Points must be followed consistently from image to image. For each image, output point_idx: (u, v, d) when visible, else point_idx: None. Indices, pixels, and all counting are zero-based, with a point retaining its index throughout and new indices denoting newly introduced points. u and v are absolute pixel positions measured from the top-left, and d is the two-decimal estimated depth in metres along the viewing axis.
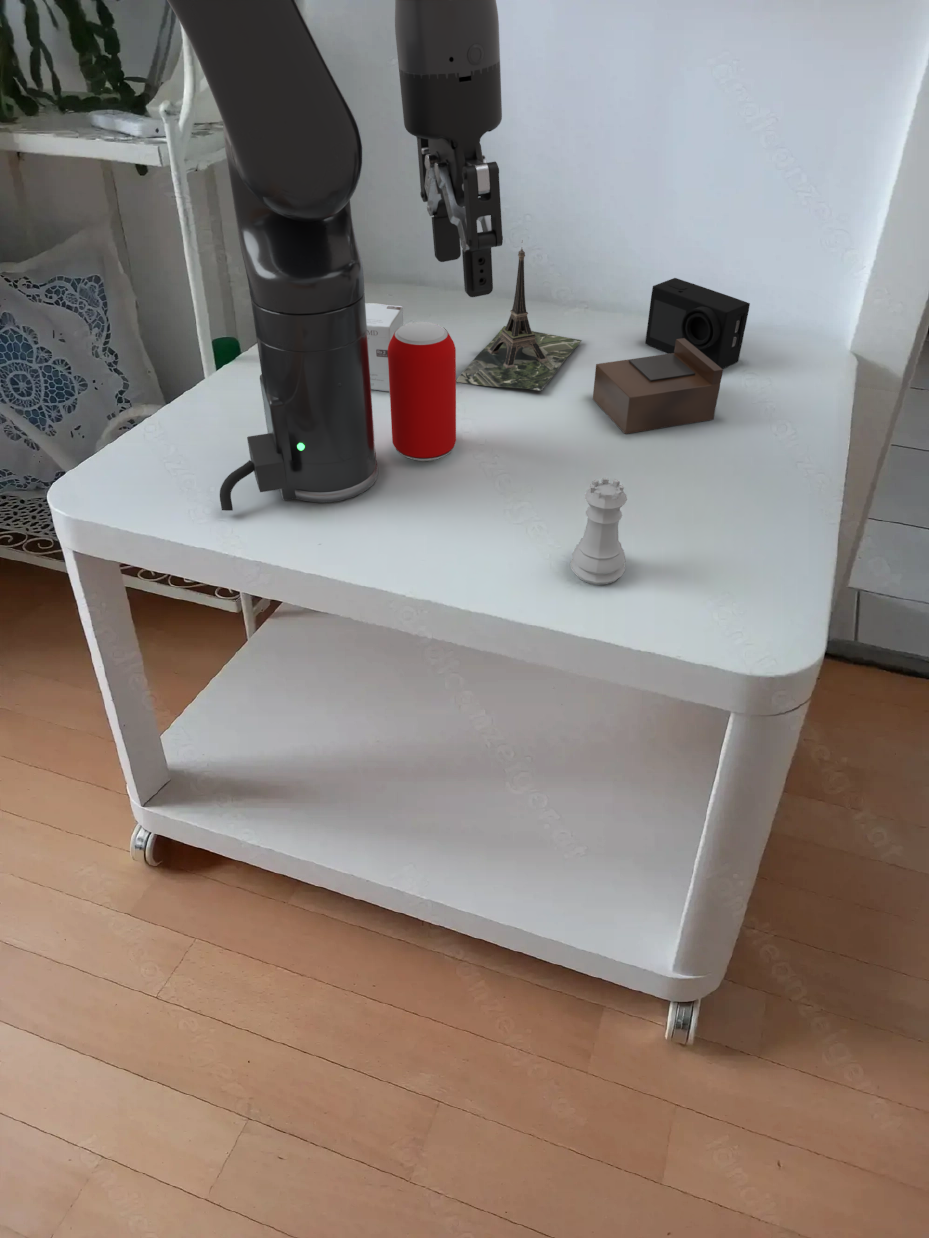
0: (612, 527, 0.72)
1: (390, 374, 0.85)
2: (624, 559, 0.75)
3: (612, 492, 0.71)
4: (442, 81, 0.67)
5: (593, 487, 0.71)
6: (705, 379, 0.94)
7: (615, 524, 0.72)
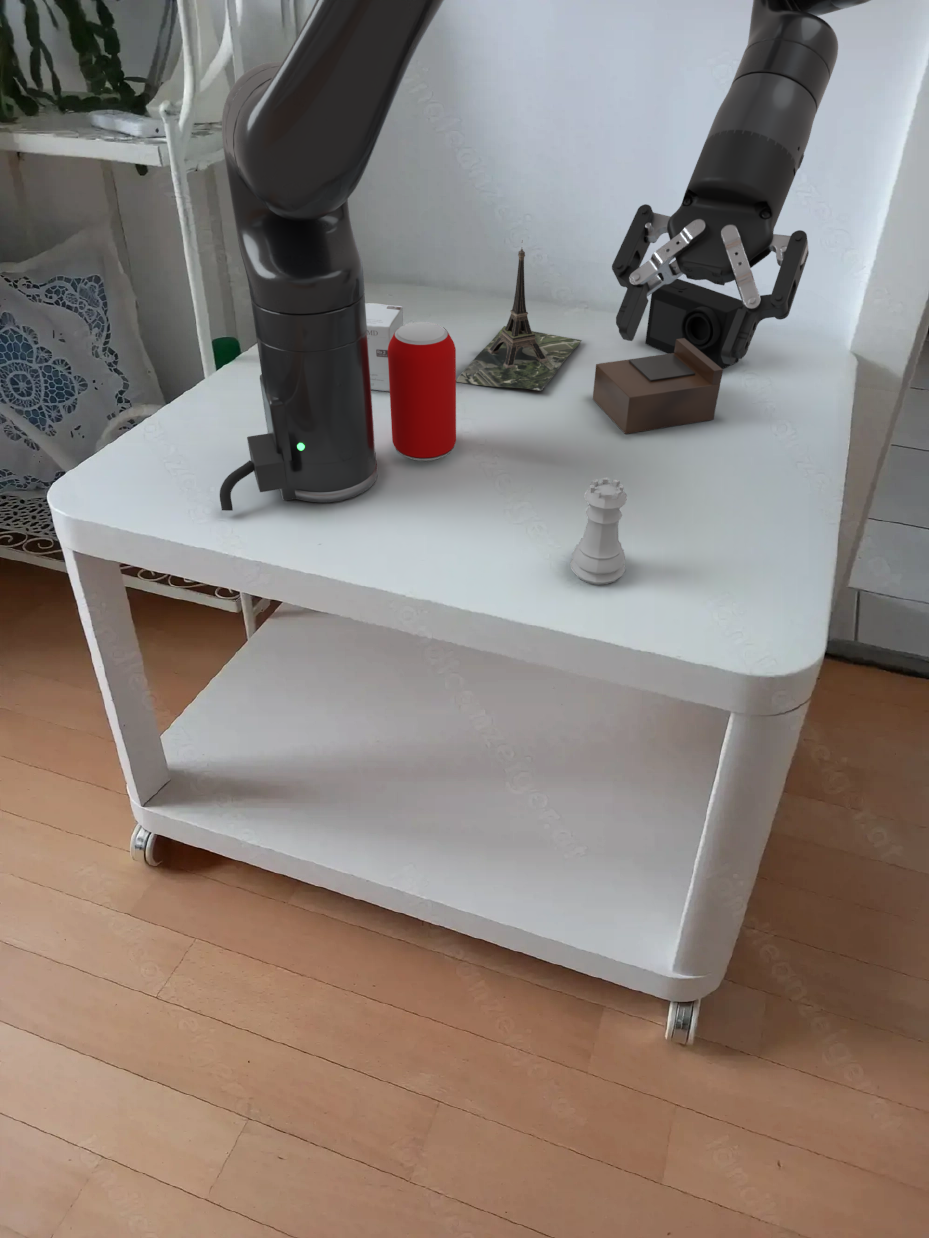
0: (612, 527, 0.72)
1: (390, 374, 0.85)
2: (624, 559, 0.75)
3: (612, 492, 0.71)
4: (788, 159, 0.71)
5: (593, 487, 0.71)
6: (705, 379, 0.94)
7: (615, 524, 0.72)
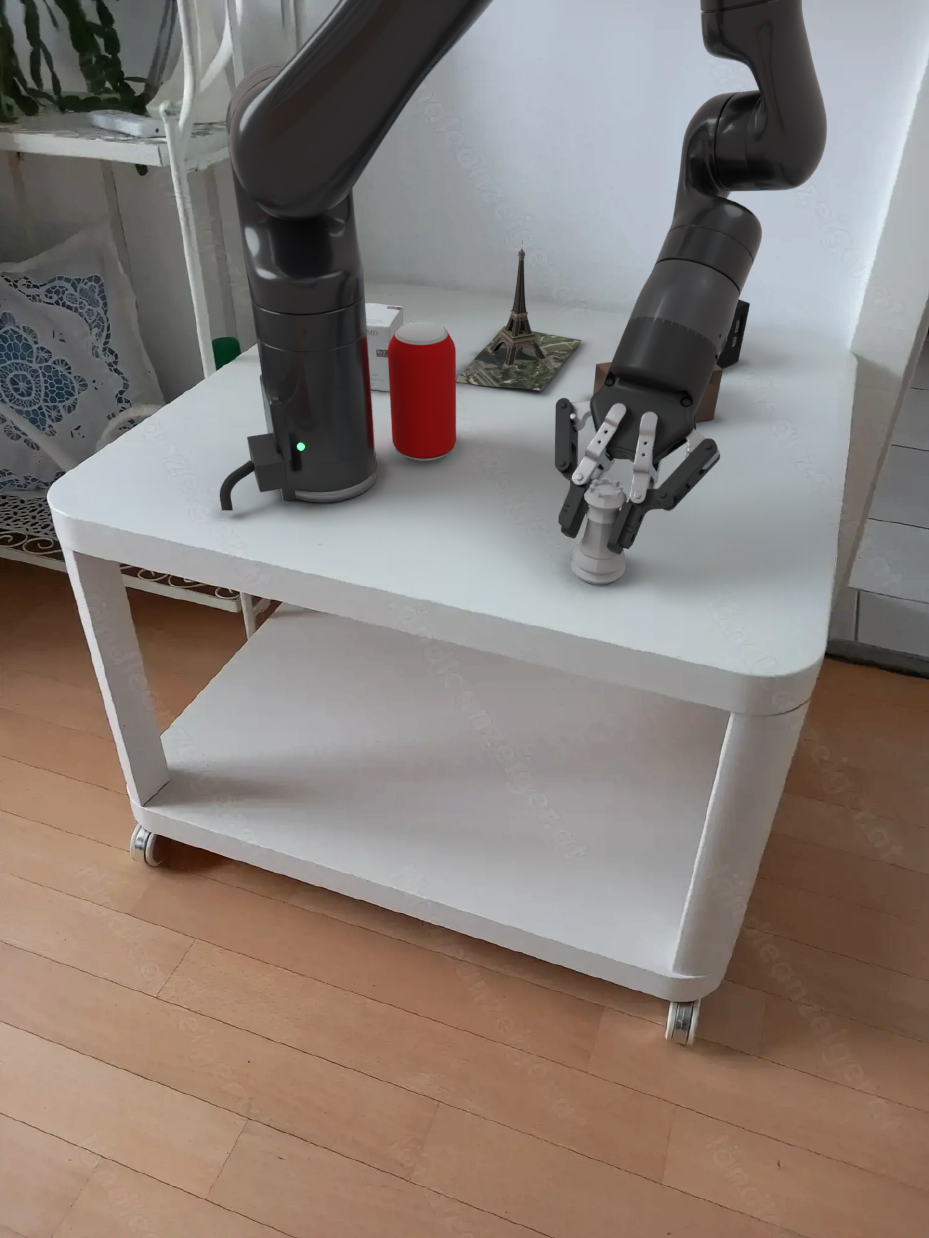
0: (612, 527, 0.72)
1: (390, 374, 0.85)
2: (624, 559, 0.75)
3: (612, 492, 0.71)
4: (709, 347, 0.70)
5: (593, 487, 0.71)
6: None
7: None
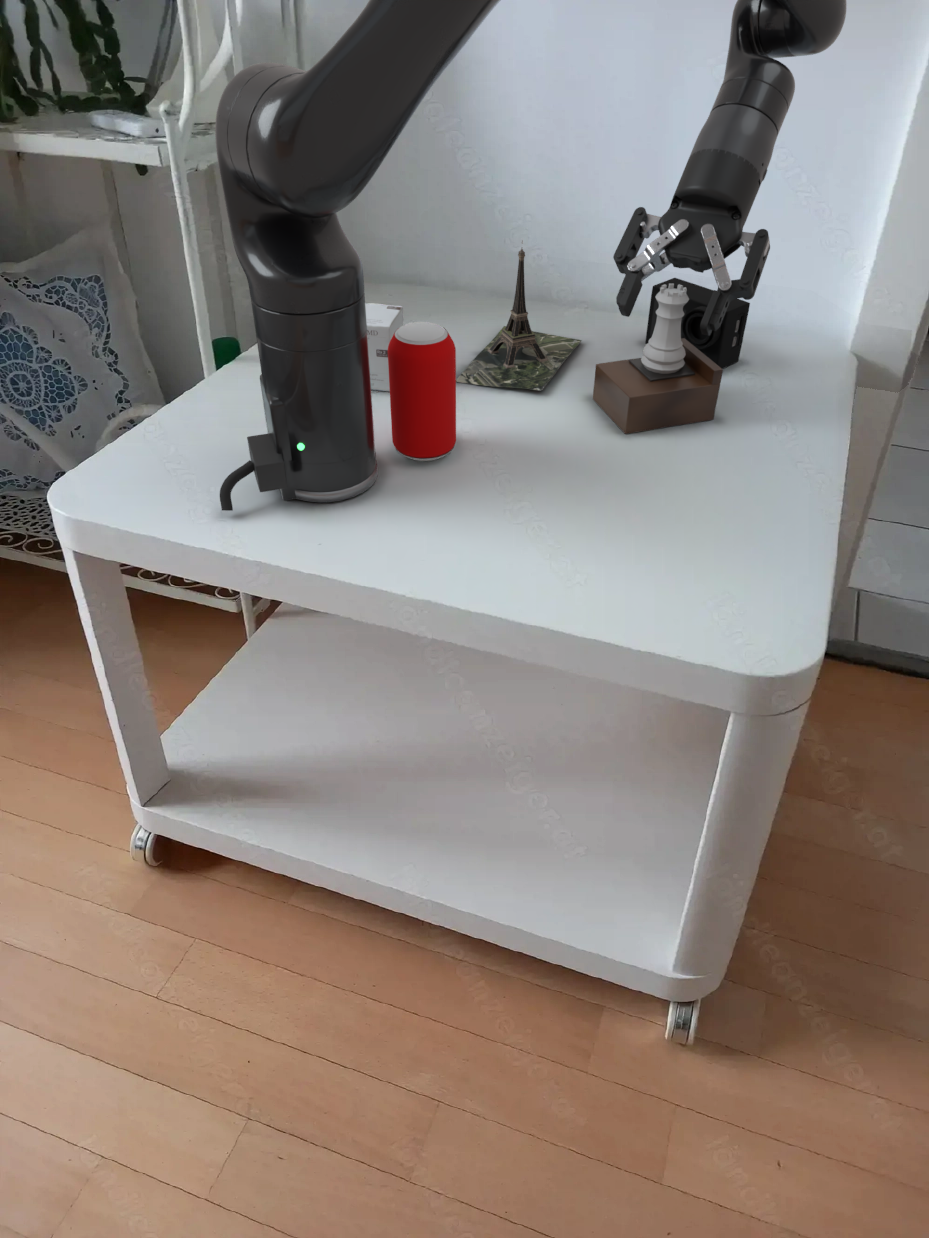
0: (676, 323, 0.92)
1: (390, 374, 0.85)
2: (684, 353, 0.95)
3: (677, 292, 0.91)
4: (754, 172, 0.89)
5: (663, 289, 0.91)
6: (705, 379, 0.94)
7: (679, 320, 0.92)
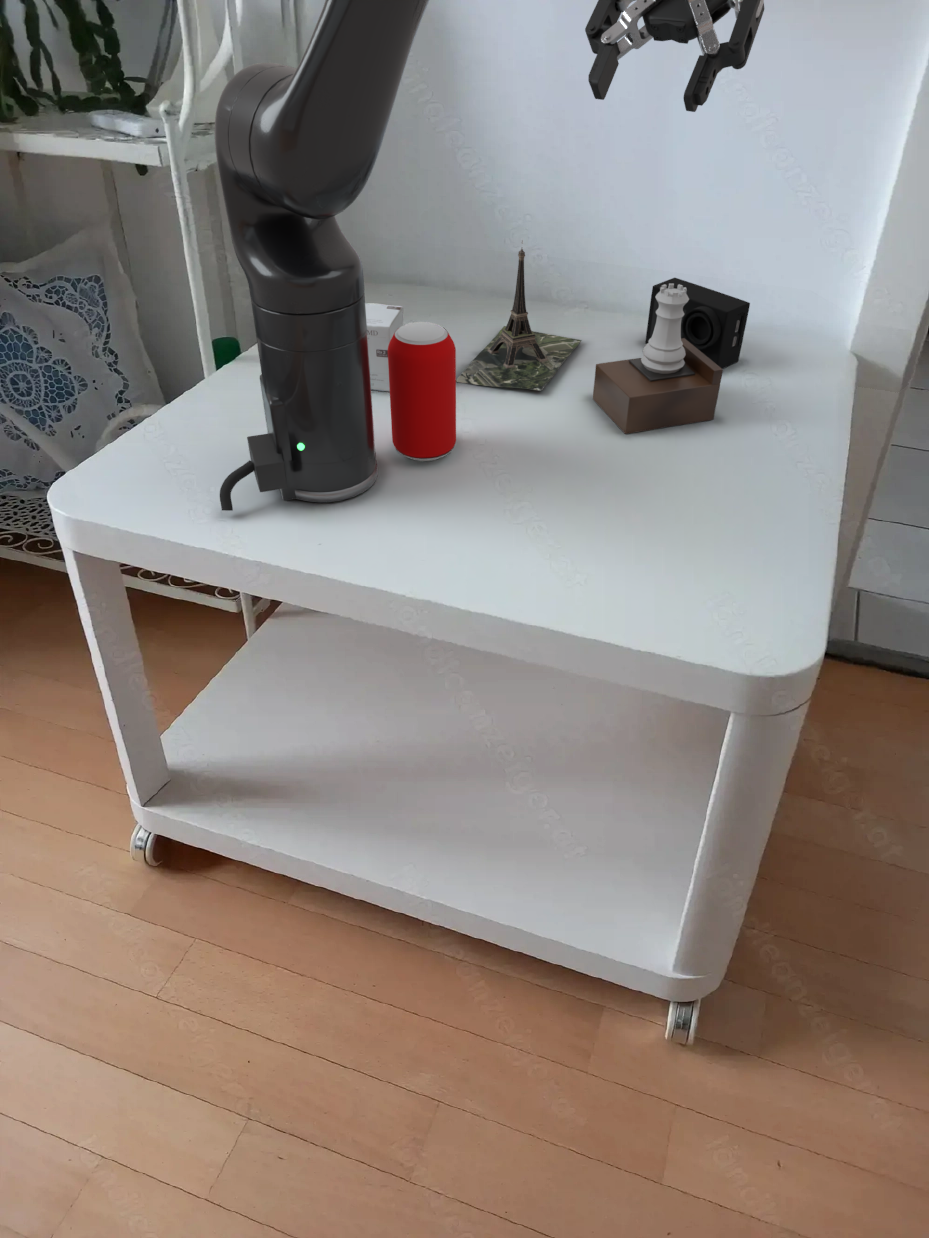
0: (676, 323, 0.92)
1: (390, 374, 0.85)
2: (684, 353, 0.95)
3: (677, 292, 0.91)
4: None
5: (663, 289, 0.91)
6: (705, 379, 0.94)
7: (679, 320, 0.92)
